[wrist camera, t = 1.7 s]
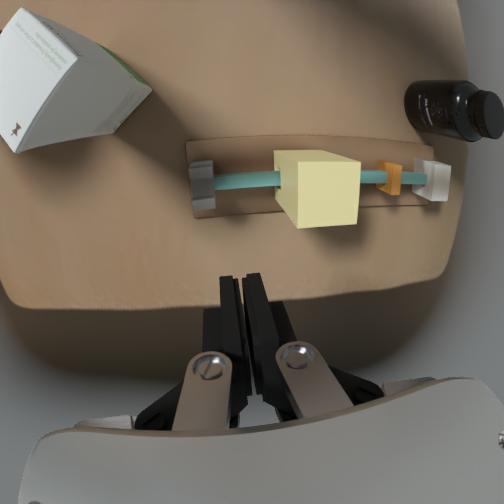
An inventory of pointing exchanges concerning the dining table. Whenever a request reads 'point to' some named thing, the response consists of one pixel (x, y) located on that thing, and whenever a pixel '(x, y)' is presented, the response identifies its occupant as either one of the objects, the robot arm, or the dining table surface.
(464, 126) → the supplement bottle
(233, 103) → the dining table surface
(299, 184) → the pale yellow block
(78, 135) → the skincare box
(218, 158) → the cable board
